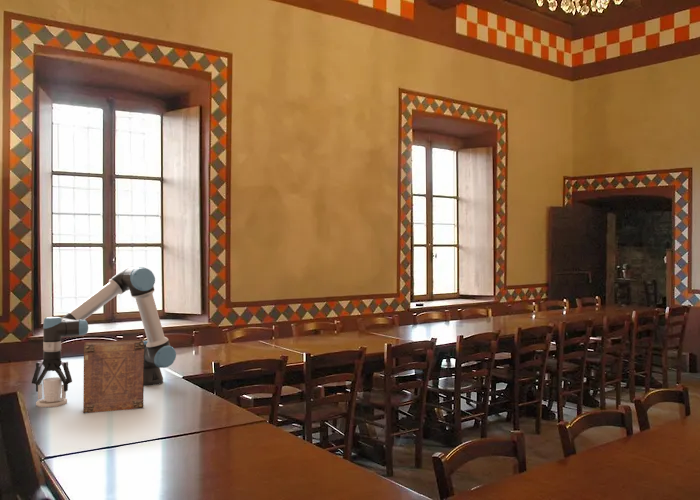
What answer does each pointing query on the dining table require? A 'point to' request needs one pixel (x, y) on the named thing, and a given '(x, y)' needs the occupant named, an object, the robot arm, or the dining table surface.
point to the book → (113, 375)
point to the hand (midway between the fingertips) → (51, 398)
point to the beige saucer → (51, 403)
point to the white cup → (52, 389)
